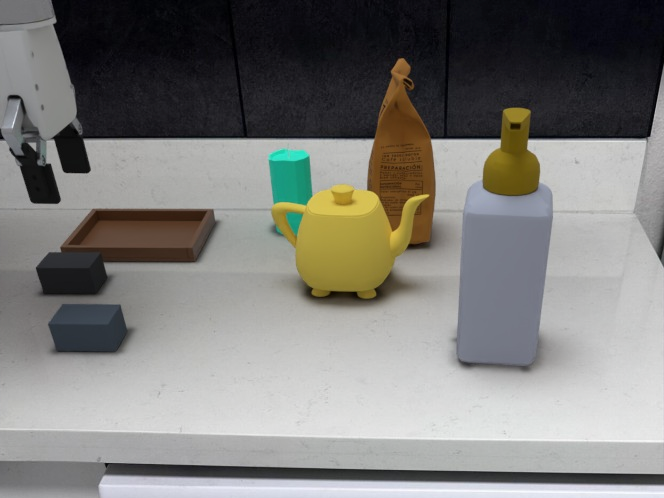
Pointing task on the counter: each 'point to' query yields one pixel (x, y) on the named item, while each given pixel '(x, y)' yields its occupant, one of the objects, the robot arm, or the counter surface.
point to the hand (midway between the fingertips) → (62, 187)
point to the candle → (291, 181)
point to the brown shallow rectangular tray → (142, 234)
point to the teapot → (345, 239)
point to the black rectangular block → (71, 272)
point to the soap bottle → (504, 253)
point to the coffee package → (403, 158)
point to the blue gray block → (88, 327)
